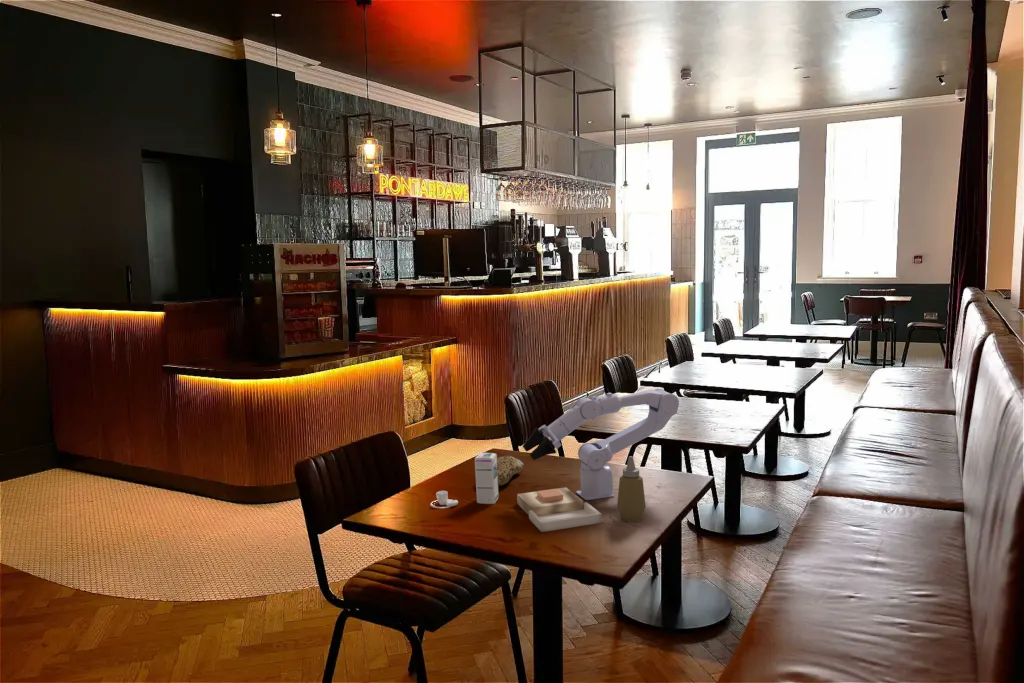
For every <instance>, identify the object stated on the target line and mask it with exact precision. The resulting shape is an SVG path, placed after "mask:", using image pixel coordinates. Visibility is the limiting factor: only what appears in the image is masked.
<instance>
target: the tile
mask: <svg viewBox="0 0 1024 683" xmlns="http://www.w3.org/2000/svg"><path fill="white" fill-rule="evenodd" d="M557 489H558V488H551V489H542V490H537V496H538V497H539V498H540V499H541V500H542V501H543V502H551V501H558V500H563V494H562V493H560V492H559V491H558V490H557Z"/></svg>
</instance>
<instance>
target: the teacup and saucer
mask: <svg viewBox="0 0 1024 683" xmlns="http://www.w3.org/2000/svg"><path fill="white" fill-rule="evenodd" d="M448 493H449V492H448V491H446V490H439V491H437V492H436V493H435V497H436V500H433V501H432V502H431V503H430V507H431V508H435V509H449V508H451V507H454V506H457V505H458V504H459V501H458V500H457V499H451V498H450V499H449V497H448V496H449V495H448ZM436 501H438V504H439V505H440V506H436V505H435V504H434V505H433V504H432V503H433V502H436ZM436 503H437V502H436ZM444 505H445V506H444Z"/></svg>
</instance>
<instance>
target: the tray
mask: <svg viewBox="0 0 1024 683" xmlns="http://www.w3.org/2000/svg"><path fill="white" fill-rule="evenodd" d="M602 517H603V514H602V513H601V512H600V511H599V510H597V509H596V508H595V507H594V506H592V505H591V504H589V503H588V502H586V501H585V502H583V510H576V511H569V512H563V513H556V514H549V515H543V516H537V515H536V514H535V513H534V512H533V511H532V510H531V511H529V515H528V519H529V521H530V522H531V523H532V524H533V525H534V526H535V527H536V528H537V529H538V530H539V531H540V532H541V533H544V532H552V531H557V530H563V529H564V530H565V529H570V528H577V527H582V526H588V525H596V524H602V523H603V520H602V519H603V518H602Z"/></svg>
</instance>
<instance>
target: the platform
mask: <svg viewBox="0 0 1024 683" xmlns="http://www.w3.org/2000/svg"><path fill="white" fill-rule="evenodd" d="M556 489H557V490H558V491H559V492H560V493H562V494H563V500H558V501H551V502H543V501H542V500H541V499H540V498H539V497H538V496H537V491H538V490H537V491H531V492H522V493H517V495H516V497H517V498H516V499H517V500H516V501H517V505H518V506H519V507H520V508H521V509H522V510H523V511H524V512H525V513H526V514H527V515H528V516H529V511H531V510H532V511H533V512H534V513H535V514H536V515H537V516H543V515H549V514H556V513H563V512H569V511H576V510H583V509H584V500H583V498H580V497H579V496H578V494H575V493H574V492H572V490H570V489H569V488H568V487H566V486H565V487H559V488H556Z"/></svg>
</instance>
